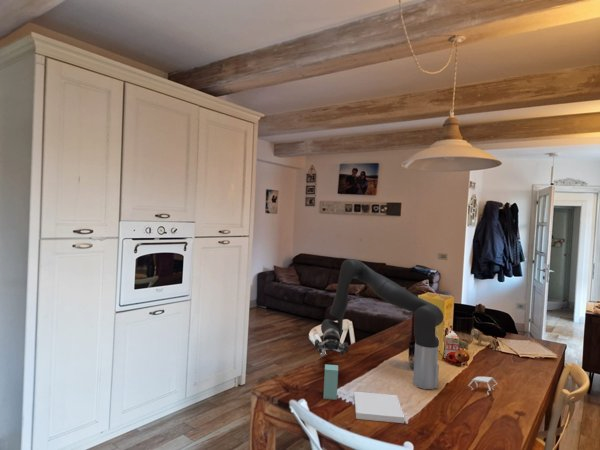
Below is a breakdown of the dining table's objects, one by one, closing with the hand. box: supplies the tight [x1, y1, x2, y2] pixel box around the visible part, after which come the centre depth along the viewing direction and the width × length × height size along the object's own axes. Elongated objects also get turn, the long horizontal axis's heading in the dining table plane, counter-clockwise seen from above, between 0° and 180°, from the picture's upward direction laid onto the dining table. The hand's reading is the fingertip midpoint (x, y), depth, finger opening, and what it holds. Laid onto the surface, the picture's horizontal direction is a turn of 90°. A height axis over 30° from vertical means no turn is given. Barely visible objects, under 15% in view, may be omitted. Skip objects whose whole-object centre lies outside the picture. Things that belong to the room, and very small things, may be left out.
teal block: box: [322, 364, 339, 401], centre depth 145 cm, size 5×5×11 cm
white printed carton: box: [444, 330, 460, 358], centre depth 197 cm, size 21×6×12 cm, turn 172°
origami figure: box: [467, 376, 498, 396], centre depth 157 cm, size 12×8×5 cm
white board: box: [353, 391, 406, 424], centre depth 137 cm, size 16×16×2 cm
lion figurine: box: [471, 328, 500, 351], centre depth 212 cm, size 15×5×9 cm, turn 51°
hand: (331, 352), depth 157 cm, fingers open, 8 cm apart
